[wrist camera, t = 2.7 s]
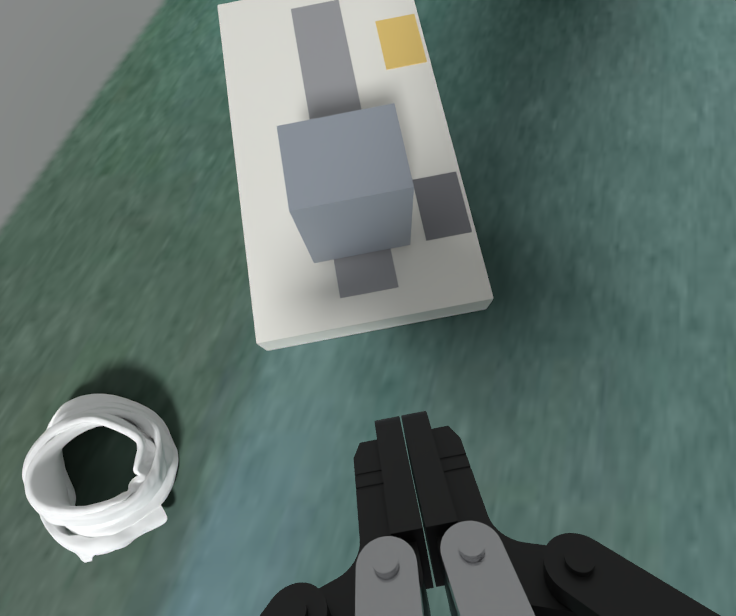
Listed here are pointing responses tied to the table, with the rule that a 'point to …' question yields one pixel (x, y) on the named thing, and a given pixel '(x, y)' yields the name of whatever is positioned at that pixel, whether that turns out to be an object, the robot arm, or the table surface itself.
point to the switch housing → (330, 97)
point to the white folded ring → (114, 516)
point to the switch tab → (348, 182)
